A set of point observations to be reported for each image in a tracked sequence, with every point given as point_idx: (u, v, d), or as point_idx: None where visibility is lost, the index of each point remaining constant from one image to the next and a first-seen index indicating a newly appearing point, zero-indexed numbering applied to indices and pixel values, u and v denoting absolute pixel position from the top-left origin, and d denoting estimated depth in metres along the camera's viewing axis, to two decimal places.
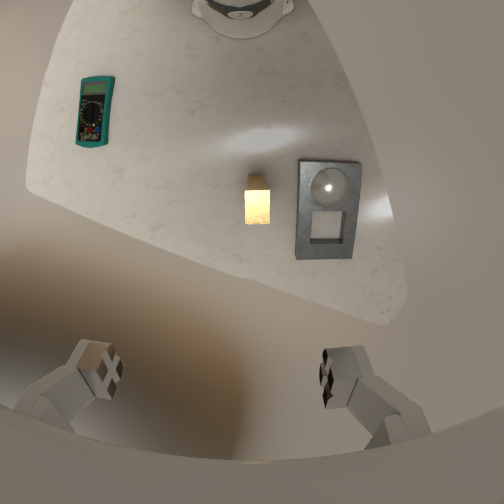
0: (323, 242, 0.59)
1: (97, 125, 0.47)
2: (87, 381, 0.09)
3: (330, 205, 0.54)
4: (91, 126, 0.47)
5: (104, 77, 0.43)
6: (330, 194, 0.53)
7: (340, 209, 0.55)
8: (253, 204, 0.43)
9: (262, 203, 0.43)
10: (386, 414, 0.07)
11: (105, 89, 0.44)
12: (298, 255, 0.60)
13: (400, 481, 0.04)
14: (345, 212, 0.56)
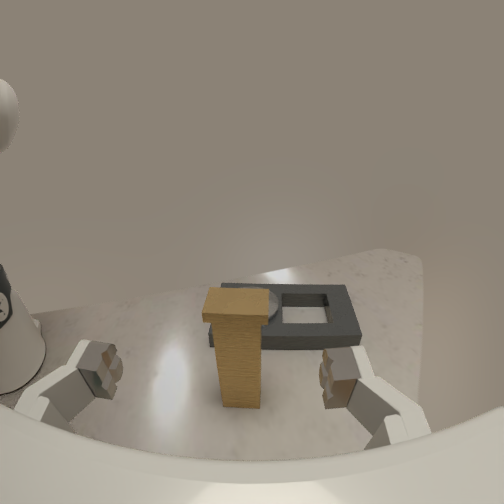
0: (329, 313, 0.41)
1: None
2: (87, 381, 0.09)
3: (272, 303, 0.41)
4: None
5: None
6: None
7: (279, 298, 0.43)
8: (230, 304, 0.23)
9: (230, 295, 0.25)
10: (386, 414, 0.07)
11: None
12: (354, 333, 0.36)
13: (400, 481, 0.04)
14: (283, 296, 0.45)
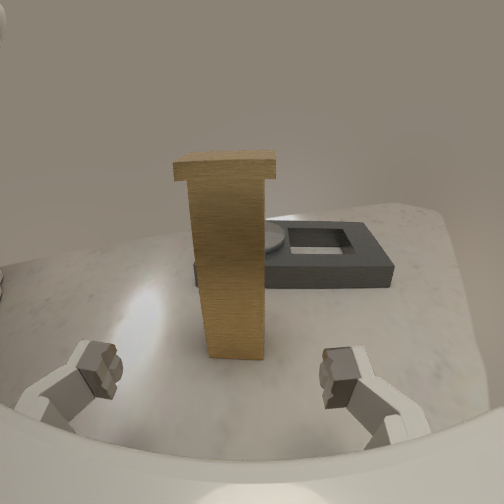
0: (349, 247, 0.32)
1: None
2: (87, 381, 0.09)
3: (276, 233, 0.33)
4: None
5: None
6: None
7: (284, 231, 0.35)
8: (217, 156, 0.15)
9: (219, 153, 0.16)
10: (386, 414, 0.07)
11: None
12: (385, 264, 0.27)
13: (400, 481, 0.04)
14: (290, 231, 0.36)
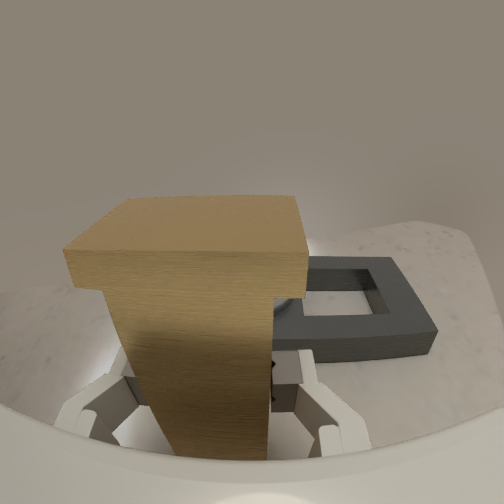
0: (378, 298, 0.24)
1: None
2: (133, 389, 0.09)
3: None
4: None
5: None
6: None
7: None
8: (164, 225, 0.06)
9: (175, 207, 0.08)
10: (327, 423, 0.07)
11: None
12: (426, 329, 0.19)
13: (400, 481, 0.04)
14: None
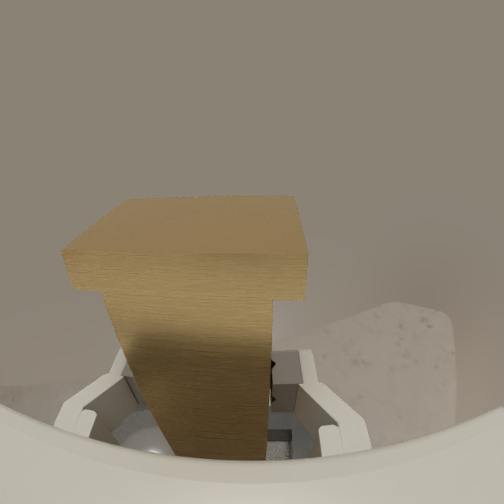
0: None
1: None
2: (132, 389, 0.09)
3: None
4: None
5: None
6: (157, 452, 0.18)
7: None
8: (163, 226, 0.06)
9: (174, 208, 0.08)
10: (327, 423, 0.07)
11: None
12: None
13: (400, 481, 0.04)
14: None
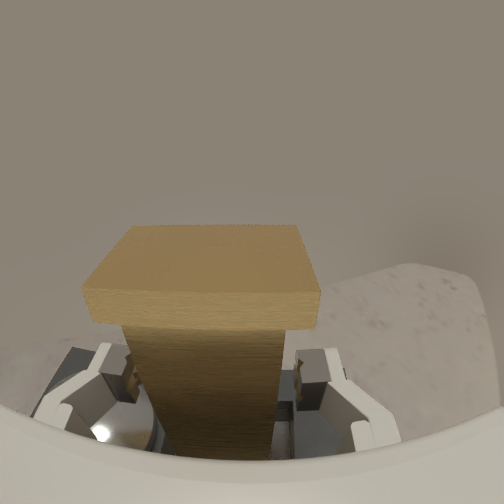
0: None
1: None
2: (110, 385, 0.09)
3: (135, 431, 0.12)
4: None
5: None
6: (100, 423, 0.12)
7: None
8: (179, 261, 0.07)
9: (185, 239, 0.08)
10: (356, 420, 0.07)
11: None
12: None
13: (400, 481, 0.04)
14: None
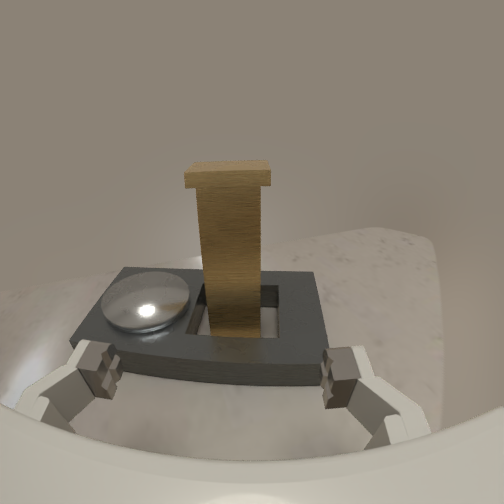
0: None
1: None
2: (87, 381, 0.09)
3: (177, 298, 0.24)
4: None
5: None
6: (152, 297, 0.24)
7: (196, 290, 0.26)
8: (220, 167, 0.18)
9: (220, 163, 0.19)
10: (386, 414, 0.07)
11: None
12: (317, 360, 0.18)
13: (400, 481, 0.04)
14: None
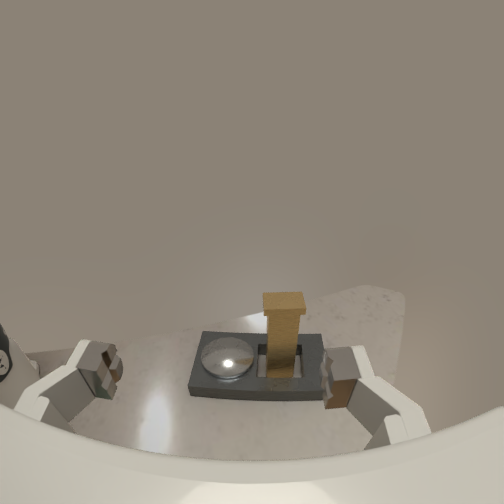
0: (302, 365, 0.42)
1: None
2: (87, 381, 0.09)
3: (247, 356, 0.42)
4: None
5: None
6: (232, 356, 0.42)
7: (255, 349, 0.45)
8: (280, 303, 0.37)
9: (278, 297, 0.38)
10: (386, 414, 0.07)
11: None
12: None
13: (400, 481, 0.04)
14: (260, 346, 0.46)
